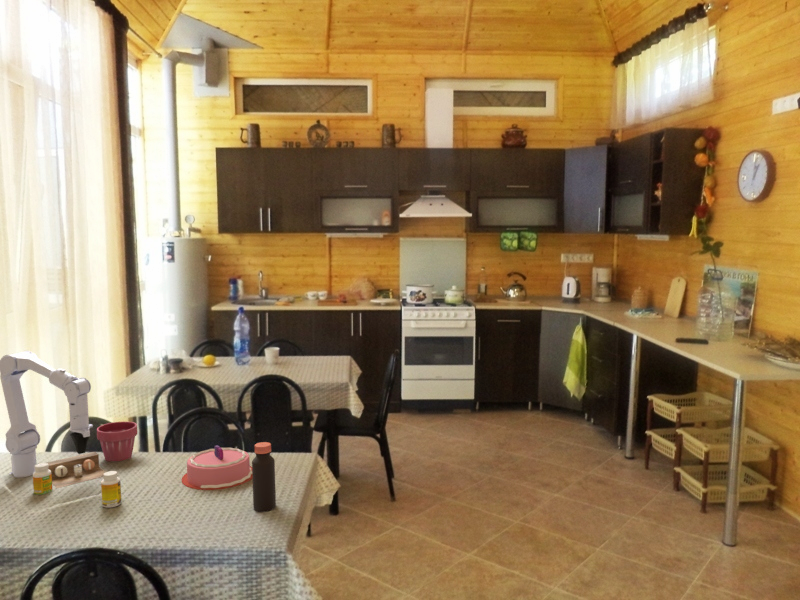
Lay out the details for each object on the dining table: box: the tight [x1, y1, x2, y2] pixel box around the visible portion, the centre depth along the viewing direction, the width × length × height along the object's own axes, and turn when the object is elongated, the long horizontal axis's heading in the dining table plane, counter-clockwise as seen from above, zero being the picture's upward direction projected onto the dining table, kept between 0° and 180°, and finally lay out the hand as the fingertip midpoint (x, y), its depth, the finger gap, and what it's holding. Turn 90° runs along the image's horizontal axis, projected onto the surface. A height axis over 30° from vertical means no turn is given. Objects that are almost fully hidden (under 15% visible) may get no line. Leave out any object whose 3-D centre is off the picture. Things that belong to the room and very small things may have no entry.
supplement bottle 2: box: [100, 470, 122, 509], centre depth 198 cm, size 6×6×10 cm
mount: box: [46, 451, 107, 489], centre depth 222 cm, size 16×17×6 cm
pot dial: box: [74, 464, 83, 478], centre depth 220 cm, size 3×3×4 cm
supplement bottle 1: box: [32, 462, 53, 495], centre depth 207 cm, size 5×5×10 cm
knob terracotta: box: [82, 459, 95, 471], centre depth 228 cm, size 9×4×4 cm, turn 43°
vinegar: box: [251, 441, 277, 513], centre depth 194 cm, size 7×7×20 cm
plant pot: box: [96, 421, 138, 462], centre depth 240 cm, size 14×14×13 cm
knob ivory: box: [54, 465, 67, 477], centre depth 222 cm, size 9×4×4 cm, turn 43°
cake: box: [181, 444, 253, 491], centre depth 222 cm, size 25×25×11 cm
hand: (81, 453), depth 218 cm, fingers closed
